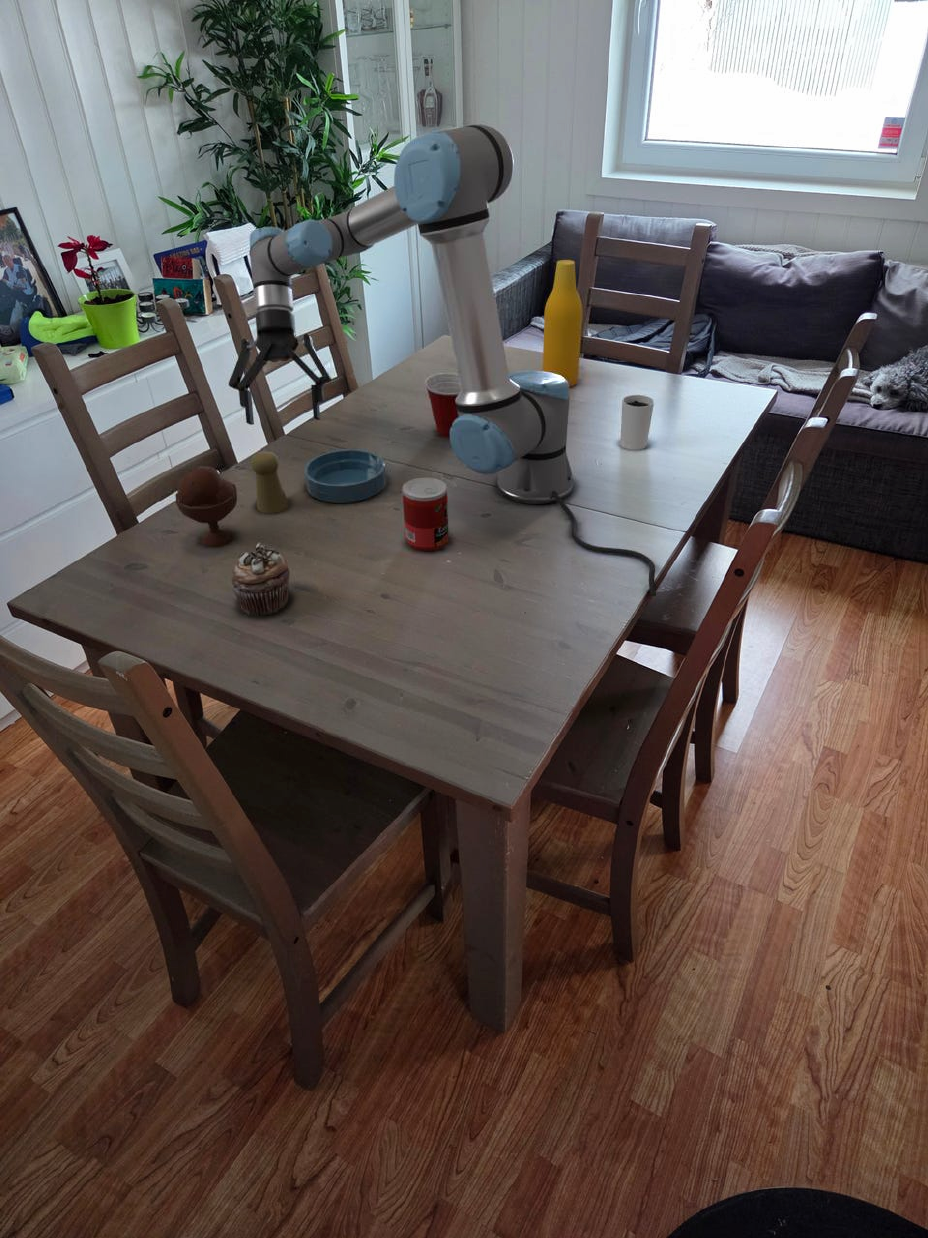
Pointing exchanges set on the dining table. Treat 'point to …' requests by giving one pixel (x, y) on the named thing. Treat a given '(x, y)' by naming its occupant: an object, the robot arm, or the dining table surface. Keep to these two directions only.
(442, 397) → the plastic cup
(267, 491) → the olive game pawn
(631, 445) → the white coffee cup
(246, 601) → the cupcake
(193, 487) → the ice cream bowl
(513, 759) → the dining table surface
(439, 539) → the canned food
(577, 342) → the beer bottle
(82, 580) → the dining table surface
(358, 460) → the bowl
